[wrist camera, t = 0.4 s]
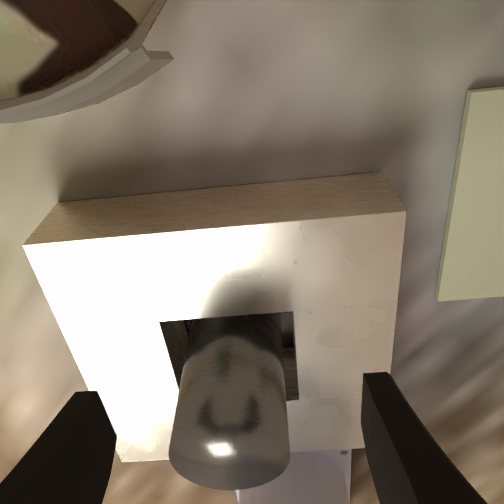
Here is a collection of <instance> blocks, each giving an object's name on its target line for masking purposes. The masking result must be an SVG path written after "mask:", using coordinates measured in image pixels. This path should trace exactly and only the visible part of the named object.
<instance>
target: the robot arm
mask: <svg viewBox="0 0 504 504" xmlns="http://www.w3.org/2000/svg"><path fill="white" fill-rule="evenodd" d="M361 428H362V433H363V439H364V444H365V449H366V454H367V459H368V464H369V467H370V471H371V474H372V477H373V481H374V484H375V488H376V491H377V495H378V498H379V501H380V504H487V502H486V501H485V500H484V499H483V498H482V497H481V496H480V495H479V494H478V492H477V491H476V490H475V489H474V488H473V487H472V486H471V484H470V483H469V482H468V481H467V480H466V479H465V477H464V476H463V475H462V474H461V473H460V471H459V470H458V469H457V468H456V467H455V465H454V464H453V463H452V462H451V460H450V459H449V458H448V457H447V455H446V454H445V453H444V452H443V450H442V449H441V448H440V446H439V445H438V444H437V442H436V441H435V440H434V439H433V437H432V436H431V435H430V433H429V432H428V431H427V429H426V428H425V427H424V425H423V424H422V422H421V421H420V420H419V418H418V417H417V415H416V414H415V412H414V411H413V410H412V408H411V407H410V405H409V404H408V402H407V401H406V399H405V398H404V396H403V395H402V393H401V391H400V390H399V388H398V387H397V385H396V383H395V382H394V380H393V378H392V377H391V375H390V374H389V373H388V372H374V373H363V385H362V404H361ZM116 441H117V435H116V433H115V431H114V428H113V426H112V424H111V421H110V419H109V417H108V414H107V412H106V410H105V407H104V405H103V403H102V400H101V398H100V396H99V393H98V391H83V392H75V393H74V395H73V396H72V397H71V398H70V399H69V401H68V402H67V403H66V404H65V406H64V407H63V408H62V409H61V411H60V412H59V413H58V414H57V416H56V417H55V418H54V419H53V421H52V422H51V423H50V424H49V426H48V427H47V428H46V429H45V431H44V432H43V433H42V434H41V436H40V437H39V438H38V439H37V441H36V442H35V443H34V444H33V446H32V447H31V448H30V449H29V450H28V452H27V453H26V454H25V455H24V456H23V458H22V459H21V460H20V461H19V462H18V464H17V465H16V466H15V467H14V468H13V470H12V471H11V472H10V473H9V474H8V475H7V476H6V478H5V479H4V480H3V481H2V482H1V483H0V504H102V501H103V498H104V495H105V491H106V488H107V485H108V481H109V478H110V474H111V469H112V463H113V458H114V453H115V447H116ZM351 452H352V449H340V450H322V451H305V452H290V461H289V464H288V466H287V468H286V469H285V471H284V472H283V473H282V474H281V475H280V476H278V477H277V478H276V479H274V480H272V481H271V482H268V483H266V484H264V485H261V486H258V487H254V488H249V489H242V490H236V495H237V499H238V503H239V504H350V482H351Z"/></svg>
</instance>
